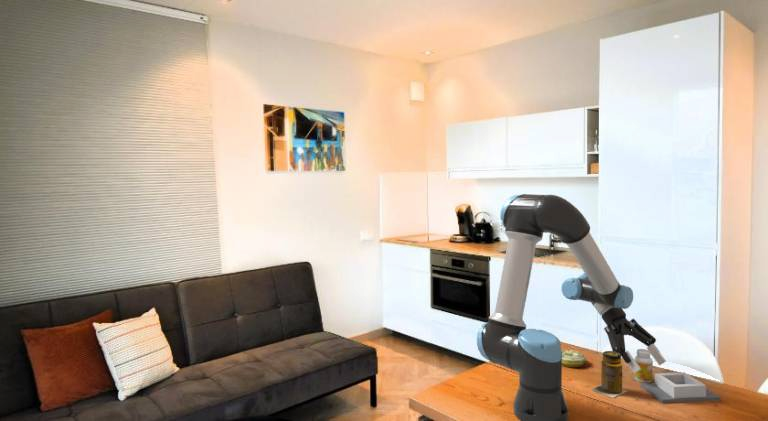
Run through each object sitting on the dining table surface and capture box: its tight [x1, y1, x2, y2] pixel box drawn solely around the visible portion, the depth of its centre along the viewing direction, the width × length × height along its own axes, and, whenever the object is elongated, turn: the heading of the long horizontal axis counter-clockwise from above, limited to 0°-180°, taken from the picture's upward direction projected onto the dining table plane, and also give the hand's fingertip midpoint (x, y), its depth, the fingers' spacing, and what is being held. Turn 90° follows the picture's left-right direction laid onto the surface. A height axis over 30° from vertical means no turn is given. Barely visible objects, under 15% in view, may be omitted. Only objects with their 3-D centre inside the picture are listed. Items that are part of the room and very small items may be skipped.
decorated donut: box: [562, 349, 588, 368], centre depth 175 cm, size 10×11×4 cm
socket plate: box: [640, 371, 722, 404], centre depth 149 cm, size 18×11×4 cm, turn 92°
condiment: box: [591, 350, 629, 399], centre depth 152 cm, size 7×8×12 cm
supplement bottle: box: [633, 348, 654, 384], centre depth 159 cm, size 5×5×10 cm
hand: (650, 367), depth 157 cm, fingers open, 12 cm apart
